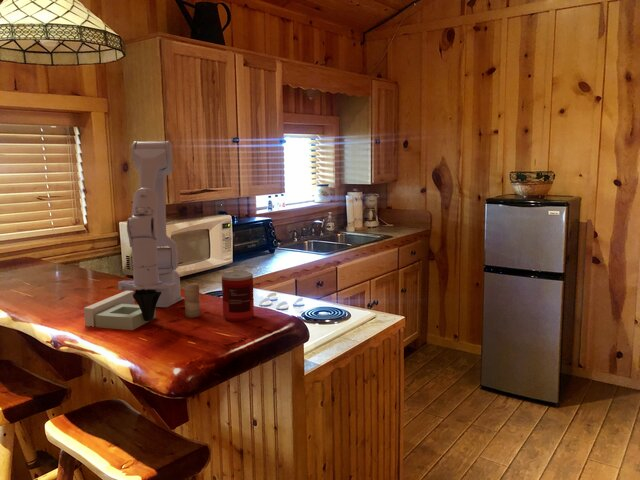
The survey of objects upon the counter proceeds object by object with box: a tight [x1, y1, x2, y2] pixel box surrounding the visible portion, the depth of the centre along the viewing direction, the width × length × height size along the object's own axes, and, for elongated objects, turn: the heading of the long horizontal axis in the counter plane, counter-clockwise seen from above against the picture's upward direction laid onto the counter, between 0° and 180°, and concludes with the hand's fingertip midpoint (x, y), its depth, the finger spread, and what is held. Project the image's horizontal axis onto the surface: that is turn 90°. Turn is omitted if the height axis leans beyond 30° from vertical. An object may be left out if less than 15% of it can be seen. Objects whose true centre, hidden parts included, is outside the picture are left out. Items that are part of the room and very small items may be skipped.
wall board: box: [83, 290, 136, 328], centre depth 138 cm, size 17×2×4 cm, turn 165°
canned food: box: [221, 270, 255, 322], centre depth 135 cm, size 8×8×11 cm
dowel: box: [184, 282, 201, 319], centre depth 137 cm, size 4×4×8 cm
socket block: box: [95, 304, 157, 331], centre depth 133 cm, size 10×10×3 cm
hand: (148, 319), depth 131 cm, fingers closed
